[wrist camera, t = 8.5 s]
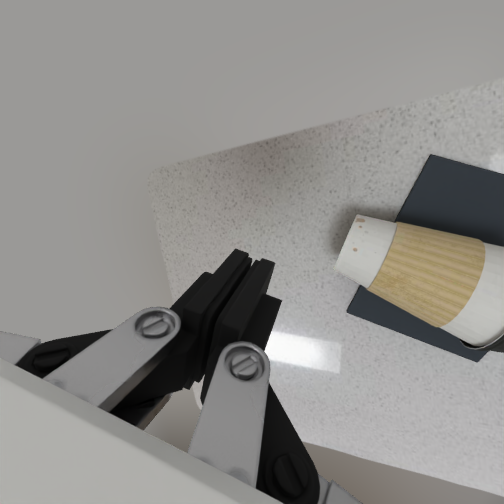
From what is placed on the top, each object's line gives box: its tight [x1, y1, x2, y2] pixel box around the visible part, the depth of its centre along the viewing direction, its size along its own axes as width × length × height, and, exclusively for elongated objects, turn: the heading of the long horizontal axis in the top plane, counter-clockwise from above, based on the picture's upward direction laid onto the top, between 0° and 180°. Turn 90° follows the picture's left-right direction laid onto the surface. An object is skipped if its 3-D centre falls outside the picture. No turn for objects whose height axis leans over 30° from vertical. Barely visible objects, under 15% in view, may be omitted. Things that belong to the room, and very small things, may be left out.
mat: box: [347, 155, 504, 362], centre depth 29 cm, size 20×16×1 cm
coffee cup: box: [333, 214, 504, 353], centre depth 26 cm, size 10×10×15 cm
